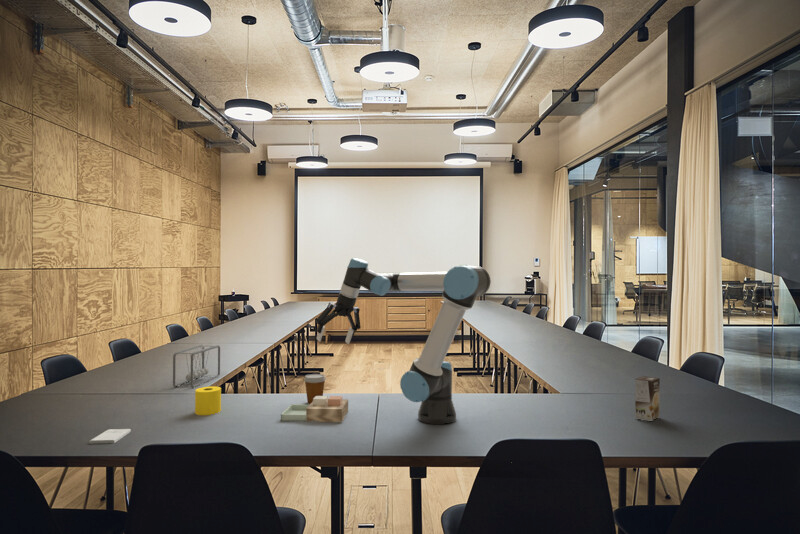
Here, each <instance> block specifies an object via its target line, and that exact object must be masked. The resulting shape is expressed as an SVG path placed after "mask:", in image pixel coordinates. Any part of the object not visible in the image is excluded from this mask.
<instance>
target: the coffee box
mask: <svg viewBox="0 0 800 534" xmlns="http://www.w3.org/2000/svg"><path fill="white" fill-rule="evenodd" d="M634 380H635V381H634V382H635V386H634V387H635V388H634V390H635V391H634V392H635V395H634V396H635V399H634V401H635V402H634V403H635V404H634V405H635V406H634V409H635V411H634V412H635V415H634V416H635V417H634V419H635V418H638V419H643V420H648V421H652V420H654V419H656V418H658V417H659V418H660V411H661V410H660V377H655V376H646V375H643V376H640V377H637V378H635V379H634ZM659 418H658V419H659ZM638 419H637V420H638ZM643 420H642V421H643ZM656 420H657V419H656ZM654 421H655V420H654Z"/></svg>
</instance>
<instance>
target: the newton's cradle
mask: <svg viewBox="0 0 800 534" xmlns="http://www.w3.org/2000/svg"><path fill="white" fill-rule="evenodd" d="M214 349H217V375H214V376H215V377H209V378H208V379H206V380H203V381H201V382H198V383H197V384H194V380H193V379H195V380H197V379H196V378H198V379H200V378H201V377H200V376H202V377H205V376H207V375H208V374H209V369H208V368H207V367H205V365H207V363H208V361H206V363H205V356H206V354H205V353H206V352H207V351H208V352H207V353H208V354H209V351H211V350H214ZM179 354H180V355H185V357H186V359H188V355H190V356H189V357H190V370H189V367H187V370H188V374H186V375H185V380H186V381H182V382H181V383H178V384H176V358H177V357H176V356H177V355H179ZM199 354H200V355H199ZM196 355H197V356H196ZM199 356H201V358H200V357H199ZM195 357H197V358H196V359H195ZM208 357H209V356H207V359H206V360H208ZM197 359H199V361H198V360H197ZM194 360H195V364H198V363H199V365H195V369H196V370H195V371H194ZM197 361H198V363H197ZM186 364H187V365H188V364H189V363H188V361H186ZM197 366H198V367H199V368H198V367H197ZM220 375H221V347H220V345H218V344H217V345H209V346H206V345H203V344H201V345H196V346H194V347H193V346H192V347H190V348H186V349H183V350H179V351H176V352H174V353H173V355H172V386H173V388H175V387H176V386H178V385H181V384H183V383H185V382H187V381H191V382H190V386H189V385H184V384H183V385H181V386H182V387H181V388H192V389H194V387H195V388H197V387H199V386H201V385H200V384H202V383H204V384H206V383H208V382H210V381H209V380H211V379H213V378H215V379H217V378H219V377H220ZM218 376H219V377H218ZM199 377H200V378H199ZM216 377H217V378H216ZM213 380H214V379H213ZM207 381H208V382H207ZM211 381H212V380H211ZM205 382H206V383H205ZM198 385H199V386H198ZM202 385H203V384H202ZM196 386H197V387H196ZM176 388H177V387H176Z"/></svg>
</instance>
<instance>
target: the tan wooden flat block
mask: <svg viewBox="0 0 800 534" xmlns="http://www.w3.org/2000/svg"><path fill="white" fill-rule="evenodd" d="M308 405H309V406H308V407H307V408H306V421H305V422H310V421H316V422H317V421H319V422H320V423H325V422H326V423H342V422H343V421H344V419H345V418H346V416H347V414H348V413H349V399H348V398H343V402H342V404H341V405H340V406H330V405H328V403H327V404H326V405H313V402H312V403H311V404H308ZM345 415H346V416H345ZM344 417H345V418H344ZM317 423H318V422H317Z"/></svg>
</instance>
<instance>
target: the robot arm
mask: <svg viewBox="0 0 800 534" xmlns="http://www.w3.org/2000/svg"><path fill="white" fill-rule="evenodd" d="M368 267H369V262H368V261H366V260H364V259H362V258H358V257H353V258H351V259H350V260H349V263H348V265H347V269H346V272H345V274H344V279H343V281H342V284H341V287H340V290H339V291H340V292H339V293H338V296H337V298H336V299H337V300H336V303H335V304H334V303H332V302H330V301H329V302H328V304H327V307H326V308H325V309H324V310H323V311H322V313H320V315H319V316H318V317H317V318H316V319H315V323H316V324H317V329H316V332H317V334H316V340H317V341H318V342H321V341H322V338H323V335H324V332H325V328H326V325H327V324H328V323H329V322H330V321H332V320H333V319H334V318H335V317H336V318H337V317H347V320H348V321H349V323H350V324H349V325H350V326H351V327H348V328H349V329H348V331H347V334H346V337H345V341H344V342H345V343H346V344H347V345H350V342H351V340H352V338H353V337H354V336H355V332H356V331H358V330H361V328H362V327H361V319H360V310H361V309H360V308H359V307H358V306H356V303H357V297H359V293H360V290H361V288H364V289H366V290H368V291H370V292H372V293H373V294H374V295H378V296H381V297H382V296H385V295H386V294H387V293H388V292H403V291H404V292H442V294H441V296H442V299H443V303H442V304H441V307H440V309H439V311H438V313H437V317H436V319H435V320H434V323H433V326H432V328H431V330H430V332H429V334H428V337H427V339H426V342H425V344H424V345H423V349H422V350H421V352H420V353H421V354H420V356H419V357H416V358H415V359H413V361H412V364H411V366H410V368H409V370H408V371H405V373H404V374H403V375H402V376H401V378H400V381H399V385H400V389H401V391H402V392H401V393H402V394H403V396H404V397H405V398H406V399H407V400H409V401H410V402H413V403H421V404H420V406H419V409H418V413H417V420H419V421H420V422H422V423H425V424H429V423H430V424H431V425H445V424H444V423H448V424H451V423H450V422H452V423H454V422H456V421H457V411H456V408H455V406H454V402H453V398H452V397H453V395H452V394H453V393H452V392H453V370H452V369H453V367H452V363H451V362H449V361H444V360H445V358H446V356H447V354H448V351H449V349H450V347H451V345H452V343H453V340H454V339H455V336H456V333H457V331H458V329H459V327H460V325H461V322H462V321H463V318H464V316H465V313H466V311H467V310H471V309H472V308H473V306H474V304H475V301H476V300H477V298H479V297H481V296H483V295H485V294H486V293H487V292H488V291H489V289H490V288H491V281H492V280H491V276H490V274H489V272H488V271H487V270H486V269H485V268H484V267H481V266H480V265H479V266H478V265H467V264H460V265H456V266H454V267H451V268H450V269H449V270H448V271H430V272H428V271H427V272H423V271H422V272H421V271H420V272H376V271H373V270H372V269H370V268H368ZM351 313H353V315H354V316H352V314H351ZM353 317H354V319H353ZM455 420H456V421H455ZM453 421H454V422H453ZM430 424H429V425H430Z"/></svg>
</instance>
